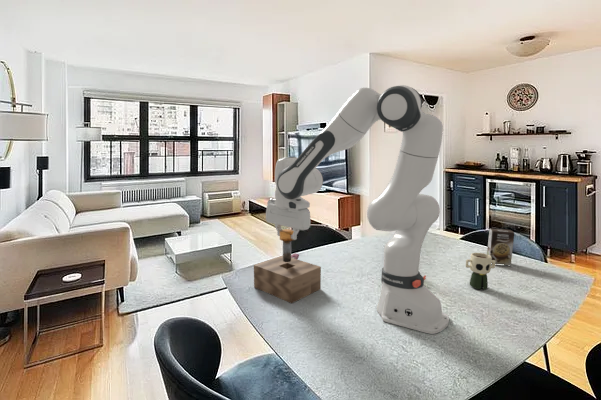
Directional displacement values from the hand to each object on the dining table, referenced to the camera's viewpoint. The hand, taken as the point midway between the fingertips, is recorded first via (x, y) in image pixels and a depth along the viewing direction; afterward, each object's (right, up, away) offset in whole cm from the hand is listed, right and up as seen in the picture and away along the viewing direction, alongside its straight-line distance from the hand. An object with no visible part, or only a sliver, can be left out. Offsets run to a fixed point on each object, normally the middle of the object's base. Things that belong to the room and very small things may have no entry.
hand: (286, 237), depth 127 cm
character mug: (+74, -20, +5) cm, 77 cm away
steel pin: (0, -9, +2) cm, 9 cm away
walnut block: (0, -20, +3) cm, 20 cm away
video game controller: (+1, -16, +27) cm, 32 cm away
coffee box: (+98, -16, +32) cm, 104 cm away
